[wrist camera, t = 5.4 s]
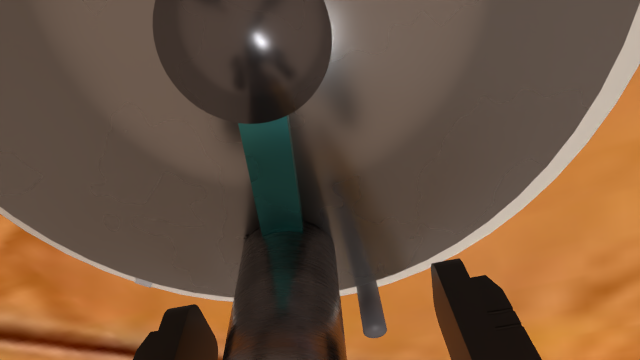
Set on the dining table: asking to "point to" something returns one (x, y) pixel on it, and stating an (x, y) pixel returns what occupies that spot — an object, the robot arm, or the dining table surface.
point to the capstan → (286, 138)
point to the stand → (632, 54)
